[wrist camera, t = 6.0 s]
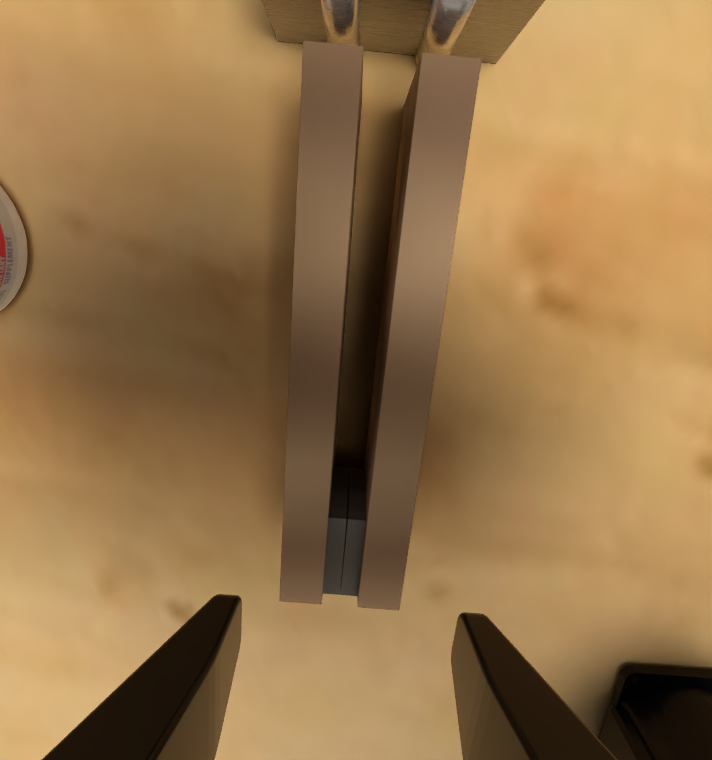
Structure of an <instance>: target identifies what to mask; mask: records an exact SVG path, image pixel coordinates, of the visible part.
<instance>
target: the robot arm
mask: <svg viewBox="0 0 712 760" xmlns="http://www.w3.org/2000/svg"><path fill="white" fill-rule="evenodd" d="M241 618H242V601H241V598H240V597H239V596H237V595H224V594H218V595H215V596H214V597H213V598H211V599H210V600H209V601H208V602H207V603H206V604H205V605H204V606H203V607H202V608H201V609H200V610H199V611H198V612H197V613H196V614H195V615H194V616H192V617H191V618H190V619H189V620H188V621H187V622H186V623H185V624H184V625H183V626H182V627H181V628H180V629H179V630H178V631H177V632H176V633H175V634H174V635H172V636H171V637H170V638H169V639H168V640H167V641H166V642H165V643H164V644H163V645H162V646H161V647H160V648H159V649H158V650H157V651H156V652H155V653H154V654H152V655H151V656H150V657H149V658H148V659H147V660H146V661H145V662H144V663H143V664H142V665H141V666H140V667H139V668H138V669H137V670H136V671H135V672H134V673H132V674H131V675H130V676H129V677H128V678H127V679H126V680H125V681H124V682H123V683H122V684H121V685H120V686H119V687H118V688H117V689H116V690H115V691H113V692H112V693H111V694H110V695H109V696H108V697H107V698H106V699H105V700H104V701H103V702H102V703H101V704H100V705H99V706H98V707H97V708H96V709H95V710H93V711H92V712H91V713H90V714H89V715H88V716H87V717H86V718H85V719H84V720H83V721H82V722H81V723H80V724H79V725H78V726H77V727H76V728H75V729H73V730H72V731H71V732H70V733H69V734H68V735H67V736H66V737H65V738H64V739H63V740H62V741H61V742H60V743H59V744H58V745H57V746H56V747H55V748H53V749H52V750H51V751H50V752H49V753H48V754H47V755H46V756H45V757H44V758H43V759H42V760H214V759H215V755H216V751H217V747H218V743H219V739H220V735H221V730H222V726H223V721H224V717H225V712H226V708H227V703H228V699H229V694H230V689H231V685H232V680H233V676H234V671H235V667H236V662H237V658H238V653H239V648H240V642H241ZM451 665H452V674H453V682H454V690H455V698H456V706H457V714H458V722H459V730H460V738H461V747H462V755H463V760H712V671H705V670H691V669H677V668H664V667H650V666H637V665H630V666H627V667H625V668H624V669H622V671H621V672H620V675H619V678H618V681H617V684H616V687H615V690H614V693H613V696H612V699H611V702H610V705H609V708H608V711H607V714H606V717H605V720H604V723H603V726H602V729H601V732H600V735H599V738H597V737H596V736H595V735H594V734H593V733H592V731H591V730H590V729H589V728H588V727H587V726H586V725H585V724H584V723H583V722H582V720H581V719H580V718H579V717H578V716H577V715H576V714H575V713H574V712H573V711H572V709H571V708H570V707H569V706H568V705H567V704H566V703H565V702H564V701H563V700H562V698H561V697H560V696H559V695H558V694H557V693H556V692H555V691H554V690H553V689H552V687H551V686H550V685H549V684H548V683H547V682H546V681H545V680H544V679H543V678H542V676H541V675H540V674H539V673H538V672H537V671H536V670H535V669H534V668H533V667H532V665H531V664H530V663H529V662H528V661H527V660H526V659H525V658H524V657H523V656H522V654H521V653H520V652H519V651H518V650H517V649H516V648H515V647H514V646H513V645H512V643H511V642H510V641H509V640H508V639H507V638H506V637H505V636H504V635H503V634H502V632H501V631H500V630H499V629H498V628H497V627H496V626H495V625H494V624H493V623H492V621H491V620H490V619H489V618H488V617H487V616H485V615H484V614H479V613H465V612H464V613H461V614H460V615H459V617H458V620H457V625H456V631H455V636H454V641H453V646H452V653H451Z"/></svg>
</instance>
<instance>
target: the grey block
mask: <svg viewBox="0 0 712 760" xmlns="http://www.w3.org/2000/svg"><path fill="white" fill-rule="evenodd" d="M544 1H545V0H262V2H263V4H264V7H265V9H266V12H267V14H268V17H269V19H270V22H271V25H272V27H273V30H274V32H275V35H276V37H277V40H278V41H281V42H291V43H301V44H303V41H313V42H324V43H334V44H345V45H355V46H363V50H369V51H379V52H388V53H398V54H408V55H416V56H415V59H416V64H417V66H418V63H419V61H420V58H421V55H422V52H423V53H432V54H442V55H451V56H460V57H469V58H479V59H481V62H486V63H495V64H496V63H497V61H498V60H499V59H500V58H501V56H502V55H503V54H504V52H505V51H506V50H507V49H508V47H509V46H510V45H511V43H512V42H513V41H514V40H515V38H516V37H517V36H518V34H519V33H520V32H521V31H522V29H523V28H524V27H525V25H526V24H527V23H528V22H529V20H530V19H531V18H532V16H533V15H534V14H535V13H536V11H537V10H538V9H539V7H540V6H541V5H542V4H543V2H544Z"/></svg>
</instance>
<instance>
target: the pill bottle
mask: <svg viewBox="0 0 712 760" xmlns="http://www.w3.org/2000/svg"><path fill="white" fill-rule="evenodd" d="M27 255H28V251H27V239H26V234H25V230H24V227H23V224H22V221H21V219H20V216H19V214H18V212H17V210H16V208H15V206H14V204H13V203H12V201H11V200H10V198H9V197H8V195H7V194H6V192H5V191H4V190H3V188H2V187H1V186H0V311H1V310H2V309H4V308H5V307H6V306H7V305H8V304H9V303H10V302H11V301H12V299H13V298H14V297H15V295H16V293H17V292H18V290H19V288H20V286H21V284H22V282H23V279H24V276H25V272H26V267H27Z"/></svg>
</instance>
